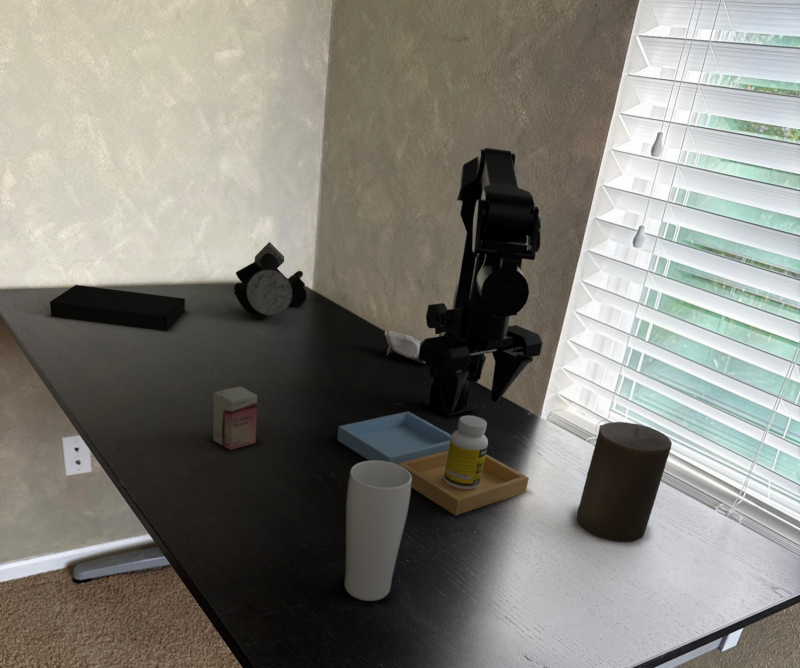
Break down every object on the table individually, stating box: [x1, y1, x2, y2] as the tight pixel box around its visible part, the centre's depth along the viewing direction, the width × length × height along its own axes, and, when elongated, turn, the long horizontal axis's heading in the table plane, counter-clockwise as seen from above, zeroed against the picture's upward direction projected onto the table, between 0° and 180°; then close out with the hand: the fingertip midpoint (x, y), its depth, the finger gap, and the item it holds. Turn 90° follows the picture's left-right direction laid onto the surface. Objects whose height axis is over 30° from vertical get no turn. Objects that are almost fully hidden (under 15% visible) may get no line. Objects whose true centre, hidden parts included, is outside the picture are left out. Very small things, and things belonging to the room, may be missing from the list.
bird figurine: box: [384, 329, 427, 365], centre depth 165 cm, size 5×7×10 cm
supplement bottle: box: [444, 415, 489, 490], centre depth 117 cm, size 5×5×10 cm
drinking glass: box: [343, 460, 412, 602], centre depth 90 cm, size 7×7×15 cm
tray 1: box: [337, 410, 452, 465], centre depth 128 cm, size 15×13×2 cm
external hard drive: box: [49, 284, 186, 332], centre depth 168 cm, size 14×23×3 cm, turn 89°
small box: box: [212, 386, 258, 451], centre depth 121 cm, size 5×4×8 cm
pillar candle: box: [576, 421, 673, 542], centre depth 111 cm, size 10×10×15 cm
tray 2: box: [398, 450, 530, 516], centre depth 119 cm, size 15×13×2 cm
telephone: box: [233, 241, 308, 320], centre depth 184 cm, size 15×13×30 cm
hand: (472, 406), depth 115 cm, fingers open, 9 cm apart
